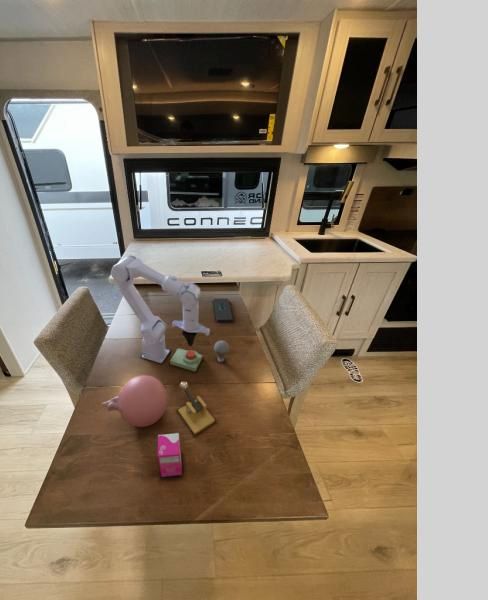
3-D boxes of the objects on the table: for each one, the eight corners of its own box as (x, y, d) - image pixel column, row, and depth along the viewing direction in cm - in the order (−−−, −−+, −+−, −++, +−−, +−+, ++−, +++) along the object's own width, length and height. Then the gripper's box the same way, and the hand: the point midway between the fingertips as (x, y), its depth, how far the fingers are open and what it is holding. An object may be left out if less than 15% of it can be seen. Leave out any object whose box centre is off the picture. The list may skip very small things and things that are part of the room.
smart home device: (228, 298, 148) (233, 319, 131) (227, 300, 149) (233, 322, 132) (213, 298, 148) (216, 319, 131) (213, 300, 149) (216, 322, 132)
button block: (170, 364, 108) (169, 357, 106) (178, 351, 114) (178, 344, 112) (195, 372, 104) (195, 365, 102) (202, 358, 111) (202, 351, 109)
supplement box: (160, 456, 77) (158, 433, 71) (180, 454, 78) (180, 432, 71) (160, 478, 72) (157, 456, 66) (182, 476, 73) (181, 454, 67)
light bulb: (227, 366, 107) (229, 348, 102) (212, 364, 108) (213, 346, 103) (228, 356, 112) (230, 338, 106) (214, 354, 113) (215, 336, 108)
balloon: (109, 401, 93) (101, 370, 85) (166, 392, 96) (163, 362, 88) (105, 443, 80) (95, 412, 72) (170, 432, 83) (168, 401, 75)
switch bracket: (178, 411, 90) (177, 398, 86) (197, 400, 93) (197, 387, 90) (194, 435, 83) (194, 422, 79) (214, 422, 86) (215, 409, 83)
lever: (177, 385, 90) (178, 382, 88) (184, 381, 91) (186, 378, 89) (193, 415, 85) (195, 412, 83) (201, 410, 86) (203, 407, 84)
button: (184, 358, 106) (184, 355, 105) (188, 352, 109) (188, 349, 108) (193, 360, 105) (193, 357, 104) (196, 354, 108) (196, 351, 107)
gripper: (213, 314, 97) (211, 342, 104) (177, 306, 102) (178, 333, 109) (206, 325, 91) (205, 354, 99) (169, 316, 96) (170, 344, 103)
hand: (190, 344), depth 103 cm, fingers closed
